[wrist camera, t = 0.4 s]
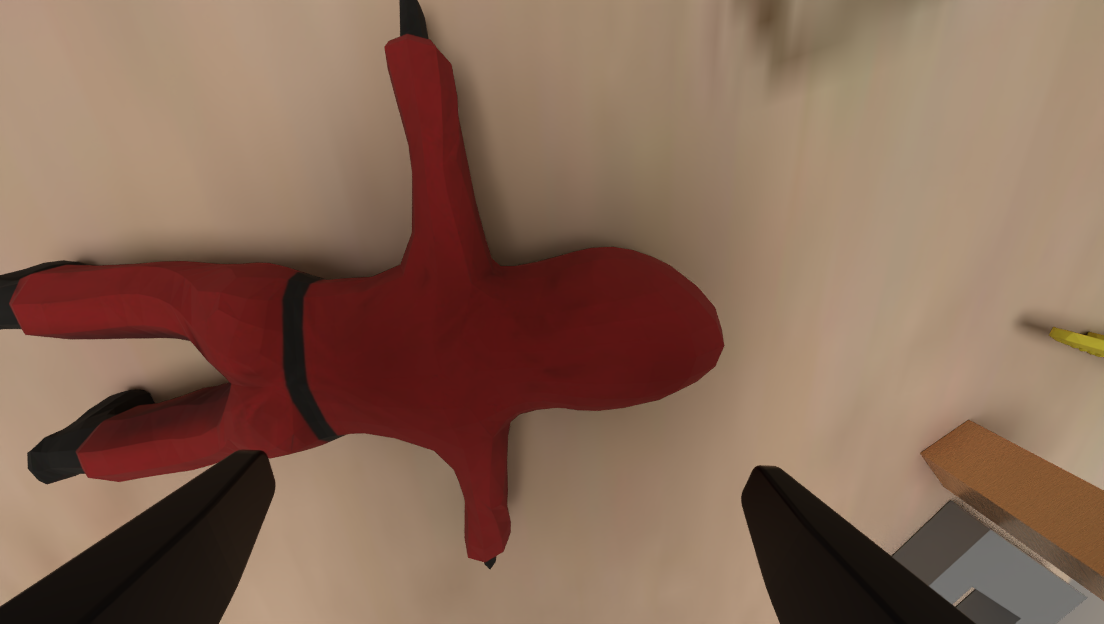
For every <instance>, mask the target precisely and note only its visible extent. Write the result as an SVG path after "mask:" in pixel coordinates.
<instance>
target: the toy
mask: <svg viewBox="0 0 1104 624" xmlns="http://www.w3.org/2000/svg"><path fill="white" fill-rule="evenodd" d="M385 54H386V60H387V67H388V71H389V75H390V79H391V83H392V86H393V90H394V94H395V97H396V101H397V105H398V109H399V112H400V116H401V120H402V123H403V127H404V130H405V134H406V138H407V141H408V145H409V153H410V160H411V167H412V234H411V237H410V240H409V242H408V245H407V248H406V250H405V253H404V256H403V259H402V261H401V264H400V265H398V266H396V267H394V268H391V269H389V270H387V271H384V272H382V273H380V274H378V275H375V276H373V277H361V278H343V279H333V280H325V279H322V278H319V277H316V276H313V275H310V274H307V273H304V272H301V271H298V270H295V269H291V268H288V267H285V266H280V265H276V264H271V263H246V264H214V263H201V262H188V261H166V262H151V263H140V264H125V265H102V266H93V265H87V264H83V263H80V262H71V261H65V260H63V261H55V262H47V263H42V264H39V265H36V266H33V267H30V268H27V269H23V270H19V271H15V272H11V273H7V274H3V275H0V330H1V329H22V330H23V332H24V333H25V335H33V336H43V337H53V338H62V339H123V338H176V339H182V340H188V341H191V342H192V343H193V344H194V346H195V347H196V348H197V349H198V350H199V351H200V353H201V354H202V355H203V356H204V357H205V358H206V360H207V361H208V362H209V363H210V364H212V365H213V366H214V367H215V368H216V369H217V370H218V371H219V372H220V373H221V374H222V375H223V376H225V378H226V379H227V380H228V381H229V383H225V384H222V385H218V386H213V387H207V388H202V389H200V390H197V391H194V392H192V393H189V394H186V395H184V396H180V397H177V398H174V399H171V400H167V401H164V402H161V403H155V402H154V401H153V399H152V397H151V395H150V393H148V392H146V391H144V390H129V391H125V392H121V393H118V394H115V395H112V396H109V397H108V398H106V399H105V400H103V401H102V402H100V403H99V404H97V405H95V406H94V407H92V408H91V409H89V410H88V411H87V412H86V413H84V414H83V415H82V416H81V417H80V418H79V419H77V420H76V421H75V422H73V423H72V424H71V425H69V426H68V427H66V428H65V429H63V430H61V431H58V432H56V433H54V434H52V435H49V436H47V437H45V438H44V439H43V440H42V441H41V442H39V443H38V444H37V445H36V446H35V447H34V448H33V449H32V450H31V451H29V452H28V453H27V456H28V469H29V471H30V472H31V473H32V474H33V475H34V476H35V477H36V478H37V479H38V480H39V481H41V482H43V483H45V484H50V483H53V482H57V481H60V480H63V479H66V478H70V477H73V476H76V475H78V474H86V475H87V477H88V478H94V479H102V480H109V481H116V482H122V481H127V480H132V479H138V478H143V477H150V476H156V475H163V474H169V473H176V472H182V471H189V470H194V469H198V468H202V467H205V466H209V465H212V464H215V463H218V462H220V461H221V460H223V459H224V458H226V457H227V456H229V455H230V454H232V453H234V452H235V451H238V450H262V451H264V452H265V453H266V454H267V456H268V458H275V457H279V456H284V455H288V454H292V453H296V452H300V451H304V450H308V449H311V448H314V447H318V446H321V445H323V444H326V443H328V442H330V441H333V440H335V439H337V438H339V437H342V436H344V435H347V434H355V433H366V434H372V435H379V436H385V437H391V438H396V439H399V440H402V441H405V442H409V443H412V444H415V445H418V446H421V447H424V448H427V449H431V450H434V451H435V452H436V453H437V454H438V455H439V456H440V457H441V458H442V459H443V460H444V461H445V462H446V463H447V464H448V465H449V466H450V467H452V468H453V469H454V471H455V474H456V476H457V478H458V481H459V483H460V486H461V489H462V492H463V495H464V499H465V543H466V549H467V555H468V558H471V559H474V560H478V561H482V562H484V564H485V565H486V566H487V567H488V568H489V569H491V568H492V566H493V565H494V563H495V562H496V556H497V555H499V554H500V553H502V552H504V549H505V546H506V544H507V541H508V538H509V535H510V532H511V521H510V516H509V511H508V507H507V494H508V477H507V450H508V433H509V428H510V423H511V421H512V420H513V419H515V418H516V417H517V416H518V415H519V414H523V413H527V412H531V411H534V410H540V409H549V408H567V409H574V410H590V411H601V410H610V409H618V408H625V407H630V406H634V405H638V404H643V403H647V402H652V401H656V400H660V399H662V398H664V397H666V396H668V395H670V394H673V393H675V392H677V391H679V390H681V389H683V388H685V387H687V386H689V385H691V384H693V383H695V382H697V381H698V380H699V379H700V378H702V377H703V376H704V375H705V374H706V373H708V372H709V371H710V370H711V369H713V368H714V367H715V366H716V364H717V361H718V359H719V357H720V354H721V352H722V350H723V347H724V341H723V334H722V329H721V325H720V322H719V319H718V315H717V312H716V309H715V307H714V306H713V304H712V303H711V302H710V301H709V300H708V298H707V297H706V296H705V295H704V294H703V292H702V291H701V290H700V289H699V288H698V287H697V286H696V285H695V284H693V283H692V282H691V281H690V280H688V279H687V278H686V277H684V276H683V275H682V274H681V273H679V272H678V271H677V270H675V269H674V268H673V267H671V266H670V265H668V264H666V263H664V262H662V261H660V260H658V259H656V258H654V257H651V256H648V255H646V254H643V253H640V252H637V251H634V250H629V249H623V248H617V247H598V248H589V249H584V250H580V251H575V252H571V253H568V254H564V255H560V256H557V257H553V258H549V259H546V260H542V261H538V262H533V263H528V264H523V265H518V266H500V265H499V264H498V263H496V262H495V261H494V260H493V259H492V258H491V254H490V251H489V248H488V245H487V242H486V238H485V234H484V231H483V227H482V223H481V220H480V216H479V212H478V208H477V205H476V201H475V196H474V191H473V186H472V181H471V176H470V171H469V166H468V161H467V156H466V151H465V146H464V142H463V137H462V132H461V127H460V122H459V117H458V102H457V92H456V87H455V81H454V76H453V70H452V65H451V63H450V62H449V61H448V60H447V59H446V58H445V56H444V55H443V54H442V53H441V52H440V51H439V50H438V49H437V48H436V46H435V45H434V44H433V42H432V41H431V40H429V39H428V34H427V28H426V22H425V17H424V14H423V12H422V9H421V7H420V5H419V3H418V1H417V0H400V37H398V38H395V39H393V40H390V41H389V42H388V43H387V44H386V45H385Z"/></svg>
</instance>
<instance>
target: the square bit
mask: <svg viewBox="0 0 1104 624" xmlns="http://www.w3.org/2000/svg"><path fill="white" fill-rule="evenodd" d="M920 454H921V455H922V457H923V458H924V459H925V461H926V462H927V464H928V465H929V466H930V468H931V469H932V471H933V472H934V473H935V475H936V476H937V478H938V479H939V480H940V482H941V483H942V485H943V486H944V487H945V488H946V489H948V490H949V491H951V492H952V493H953V494H955V495H956V496H958V497H959V498H960V499H962V500H963V501H965V502H966V503H967V504H969V505H970V506H972V507H973V508H974V509H976V510H977V511H979V512H980V513H981V514H983V515H984V516H986V517H987V518H988V519H990V520H991V521H993V522H994V523H995V524H997V525H998V526H1000V527H1001V528H1002V529H1004V530H1005V531H1007V532H1008V533H1009V534H1011V535H1012V536H1014V537H1015V538H1016V539H1018V540H1019V541H1021V542H1022V543H1023V544H1025V545H1026V546H1028V547H1029V548H1030V549H1032V550H1033V551H1034V552H1036V553H1037V554H1039V555H1040V556H1041V557H1043V558H1044V559H1046V560H1047V561H1048V562H1050V563H1051V564H1053V565H1054V566H1055V567H1057V568H1058V569H1060V570H1061V571H1062V572H1064V573H1065V574H1067V575H1068V576H1069V577H1071V578H1072V579H1074V580H1075V581H1077V582H1078V583H1079V584H1081V585H1082V586H1084V587H1085V588H1086V589H1088V590H1089V591H1090V592H1092V593H1093V594H1095V595H1096V596H1097V597H1099V598H1100V599H1102V600H1103V601H1104V490H1102V489H1100V488H1098V487H1096V486H1094V485H1092V484H1090V483H1088V482H1086V481H1084V480H1083V479H1081V478H1079V477H1077V476H1075V475H1073V474H1071V473H1069V472H1067V471H1065V470H1063V469H1062V468H1060V467H1058V466H1056V465H1054V464H1052V463H1050V462H1048V461H1046V460H1044V459H1042V458H1041V457H1039V456H1037V455H1035V454H1033V453H1031V452H1029V451H1027V450H1025V449H1023V448H1021V447H1020V446H1018V445H1016V444H1014V443H1012V442H1010V441H1008V440H1006V439H1004V438H1002V437H1000V436H998V435H997V434H995V433H993V432H991V431H989V430H987V429H985V428H983V427H981V426H979V425H977V424H976V423H974V422H972V421H970V420H968V421H966V422H965V423H963V424H962V425H960V426H959V427H958V428H956V429H955V430H953V431H952V432H950V433H949V434H947V435H946V436H945V437H943V438H942V439H940V440H939V441H937V442H936V443H934V444H933V445H931V446H930V447H929V448H927V449H926V450H924V451H923V452H921V453H920Z"/></svg>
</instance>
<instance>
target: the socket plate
mask: <svg viewBox="0 0 1104 624" xmlns="http://www.w3.org/2000/svg"><path fill="white" fill-rule="evenodd" d="M892 557H893V558H894V559H896V560H897V561H898V562H899V563H901V564H902V565H903V566H904V567H906V568H907V569H908V570H909V571H911V572H912V573H913V574H914V575H916V576H917V577H918V578H919V579H921V580H922V581H923V582H925V583H926V584H927V585H928V586H930V587H931V588H932V589H933V590H935V591H936V592H937V593H938V594H940V595H941V596H942V597H943V598H945V599H946V600H947V601H948V602H950V603H951V604H953V603H954V602H956V601H957V600H958V599H959V598H960V597H961V596H962V595H963V594H965V593H966V592H967V591H968V590H969V589H970V588H971V587H974V588H975V589H976V590H975V591H974V592H972V593H971V594H970V595H969V596H968V597H967V598H966V599H965V600H963V601H962V602H961V603H960V604H959V605H958V606H957V607H956V608H957V609H959V610H960V611H961V612H962V613H964V614H965V615H966V616H967V617H969V618H970V619H971V620H972V621H974V622H975V623H976V624H1056V623H1058V622H1059V621H1060V620H1061V619H1062V618H1063V617H1065V616H1066V615H1067V614H1068V613H1070V612H1071V611H1072V610H1073V609H1075V608H1076V607H1077V606H1078V605H1079V604H1080V603H1082V602H1083V601H1084V600H1086V599H1087V597H1086V596H1085V595H1083V594H1082V593H1080V592H1079V591H1078V590H1076V589H1075V588H1074V587H1072V586H1071V585H1070V584H1068V583H1067V582H1066V581H1064V580H1063V579H1061V578H1060V577H1059V576H1057V575H1056V574H1055V573H1053V572H1052V571H1050V570H1049V569H1048V568H1046V567H1045V566H1044V565H1042V564H1041V563H1039V562H1038V561H1037V560H1035V559H1034V558H1032V557H1031V556H1029V555H1028V554H1027V553H1025V552H1024V551H1022V550H1021V549H1019V548H1018V547H1017V546H1015V545H1014V544H1012V543H1011V542H1010V541H1008V540H1007V539H1005V538H1004V537H1002V536H1001V535H1000V534H998V533H997V532H995V531H994V530H993V529H991V528H990V527H988V526H987V525H985V524H984V523H983V522H981V521H980V520H978V519H977V518H975V517H974V516H973V515H971V514H970V513H968V512H967V511H966V510H964V509H963V508H961V507H960V506H958V505H957V504H956V503H954V502H953V501H950V502H949V503H948V504H946V505H945V506H944V507H943V508H942V509H941V510H940V511H939V512H938V513H937V514H936V515H935V516H934V517H933V518H932V519H931V520H930V521H929V522H928V523H927V524H925V525H924V526H923V527H922V528H921V529H920V530H919V531H918V532H917V533H916V534H915V535H914V536H913V537H912V538H911V539H910V540H909V541H908V542H907V543H906V544H904V545H903V546H902V547H901V548H900V549H899V550H898V551H897V552H896V553H895V554H894V555H893V556H892Z"/></svg>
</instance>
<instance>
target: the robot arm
mask: <svg viewBox="0 0 1104 624" xmlns="http://www.w3.org/2000/svg"><path fill="white" fill-rule="evenodd" d="M274 492H275V479H274V475H273V472H272V469H271V465H270V462H269V459H268V456H267V454H266V453H265V452H264V451H262V450H238V451H235V452H234V453H232V454H230V455H229V456H227V457H226V458H224V459H223V460H221V461H220V462H218V463H217V464H215V465H214V466H212V467H211V468H209V469H208V470H206V471H205V472H203V473H201V474H200V475H198V476H197V477H195V478H194V479H192V480H191V481H189V482H188V483H186V484H185V485H183V486H182V487H180V488H179V489H177V490H176V491H174V492H173V493H171V494H170V495H168V496H167V497H165V498H164V499H162V500H161V501H159V502H158V503H156V504H155V505H153V506H152V507H150V508H149V509H147V510H145V511H144V512H142V513H141V514H139V515H138V516H136V517H135V518H133V519H132V520H130V521H129V522H127V523H126V524H124V525H123V526H121V527H120V528H118V529H117V530H115V531H114V532H112V533H111V534H109V535H108V536H106V537H105V538H103V539H102V540H100V541H99V542H97V543H96V544H94V545H93V546H91V547H89V548H88V549H86V550H85V551H83V552H82V553H80V554H79V555H77V556H76V557H74V558H73V559H71V560H70V561H68V562H67V563H65V564H64V565H62V566H61V567H59V568H58V569H56V570H55V571H53V572H52V573H50V574H49V575H47V576H46V577H44V578H43V579H41V580H40V581H38V582H37V583H35V584H34V585H32V586H30V587H29V588H27V589H26V590H24V591H23V592H21V593H20V594H18V595H17V596H15V597H14V598H12V599H11V600H9V601H8V602H6V603H5V604H3V605H2V606H0V624H219V622H220V620H221V618H222V616H223V614H224V612H225V611H226V609H227V607H228V605H229V603H230V601H231V599H232V596H233V594H234V592H235V590H236V588H237V586H238V584H239V581H240V579H241V577H242V574H243V572H244V569H245V567H246V564H247V562H248V559H249V557H250V554H251V552H252V549H253V547H254V544H255V542H256V539H257V536H258V534H259V531H260V529H261V526H262V524H263V521H264V519H265V516H266V514H267V511H268V509H269V506H270V503H271V501H272V498H273V496H274ZM741 502H742V507H743V511H744V514H745V518H746V521H747V525H748V528H749V532H750V535H751V539H752V542H753V545H754V549H755V552H756V556H757V559H758V563H759V566H760V570H761V573H762V576H763V579H764V582H765V586H766V589H767V591H768V594H769V597H770V599H771V602H772V605H773V607H774V610H775V612H776V615H777V617H778V620H779V622H780V624H976V623H975V622H974V621H972V620H971V619H970V618H969V617H967V616H966V615H965V614H964V613H962V612H961V611H960V610H959V609H957V608H956V607H955V606H954V605H952V604H951V603H950V602H948V601H947V600H946V599H945V598H943V597H942V596H941V595H940V594H938V593H937V592H936V591H935V590H933V589H932V588H931V587H930V586H928V585H927V584H926V583H925V582H923V581H922V580H921V579H919V578H918V577H917V576H916V575H914V574H913V573H912V572H911V571H909V570H908V569H907V568H906V567H904V566H903V565H902V564H901V563H899V562H898V561H897V560H896V559H894V558H893V557H892V556H890V555H889V554H888V553H887V552H885V551H884V550H883V549H882V548H880V547H879V546H878V545H877V544H875V543H874V542H873V541H872V540H870V539H869V538H868V537H867V536H865V535H864V534H863V533H862V532H860V531H859V530H858V529H856V528H855V527H854V526H853V525H851V524H850V523H849V522H848V521H846V520H845V519H844V518H843V517H841V516H840V515H839V514H838V513H836V512H835V511H834V510H833V509H831V508H830V507H829V506H827V505H826V504H825V503H824V502H822V501H821V500H820V499H819V498H817V497H816V496H815V495H814V494H812V493H811V492H810V491H809V490H807V489H806V488H805V487H804V486H802V485H801V484H800V483H798V482H797V481H796V480H795V479H793V478H792V477H791V476H790V475H788V474H787V473H786V472H785V471H783V470H782V469H781V468H779V467H776V466H761V465H759V466H756V467H755V468H754V469H753V470H752V472H751V475H750V477H749V479H748V481H747V483H746V485H745V487H744V489H743V492H742V496H741Z"/></svg>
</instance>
